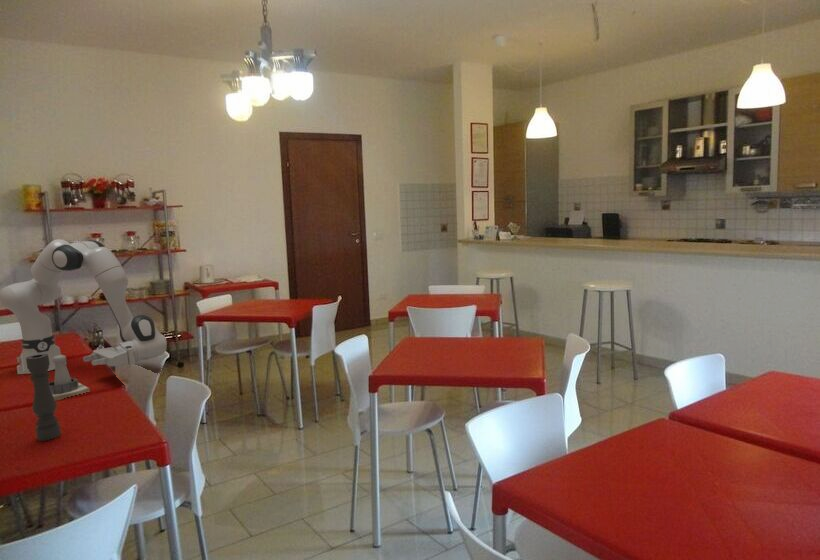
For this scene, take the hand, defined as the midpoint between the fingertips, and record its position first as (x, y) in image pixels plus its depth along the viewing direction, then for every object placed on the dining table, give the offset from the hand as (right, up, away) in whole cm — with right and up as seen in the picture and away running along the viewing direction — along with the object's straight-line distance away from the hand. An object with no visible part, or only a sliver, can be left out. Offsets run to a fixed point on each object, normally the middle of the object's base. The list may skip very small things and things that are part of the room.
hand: (87, 361), depth 228 cm
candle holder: (+14, -16, -48) cm, 53 cm away
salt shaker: (-6, -10, -5) cm, 13 cm away
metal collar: (-6, -10, -5) cm, 13 cm away
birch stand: (-6, -11, -5) cm, 14 cm away
